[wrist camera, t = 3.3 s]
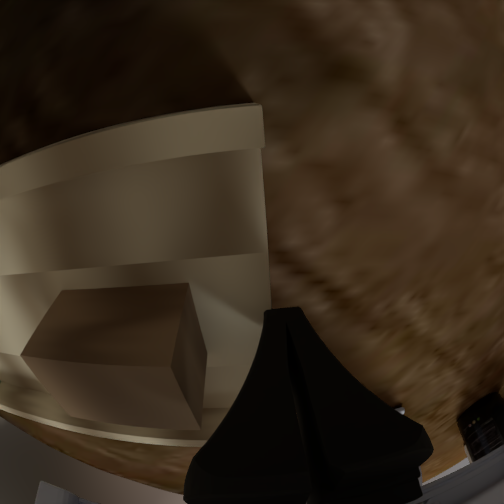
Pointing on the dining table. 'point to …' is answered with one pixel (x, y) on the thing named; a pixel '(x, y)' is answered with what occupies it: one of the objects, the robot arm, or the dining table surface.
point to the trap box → (139, 245)
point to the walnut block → (123, 355)
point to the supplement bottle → (483, 426)
